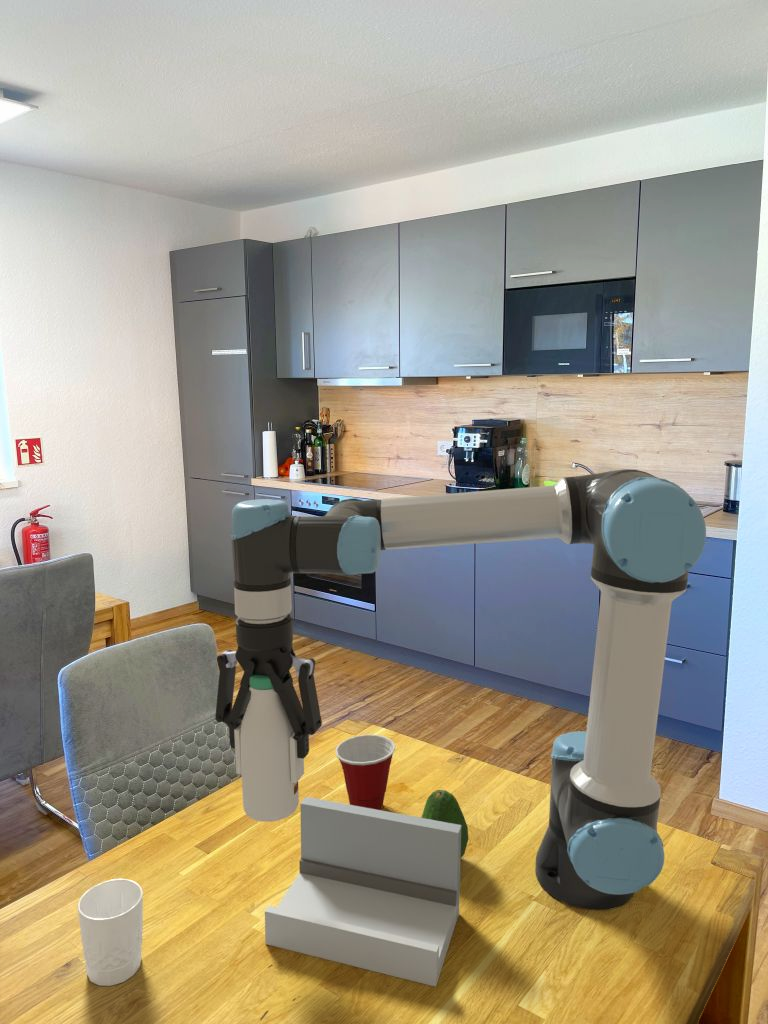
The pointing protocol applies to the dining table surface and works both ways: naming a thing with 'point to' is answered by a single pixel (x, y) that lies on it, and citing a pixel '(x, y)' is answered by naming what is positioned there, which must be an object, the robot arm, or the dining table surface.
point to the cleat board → (371, 891)
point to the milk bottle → (266, 755)
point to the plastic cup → (366, 768)
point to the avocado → (446, 813)
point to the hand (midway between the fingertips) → (270, 773)
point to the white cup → (111, 930)
